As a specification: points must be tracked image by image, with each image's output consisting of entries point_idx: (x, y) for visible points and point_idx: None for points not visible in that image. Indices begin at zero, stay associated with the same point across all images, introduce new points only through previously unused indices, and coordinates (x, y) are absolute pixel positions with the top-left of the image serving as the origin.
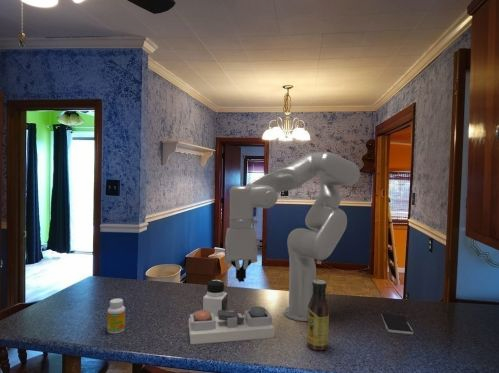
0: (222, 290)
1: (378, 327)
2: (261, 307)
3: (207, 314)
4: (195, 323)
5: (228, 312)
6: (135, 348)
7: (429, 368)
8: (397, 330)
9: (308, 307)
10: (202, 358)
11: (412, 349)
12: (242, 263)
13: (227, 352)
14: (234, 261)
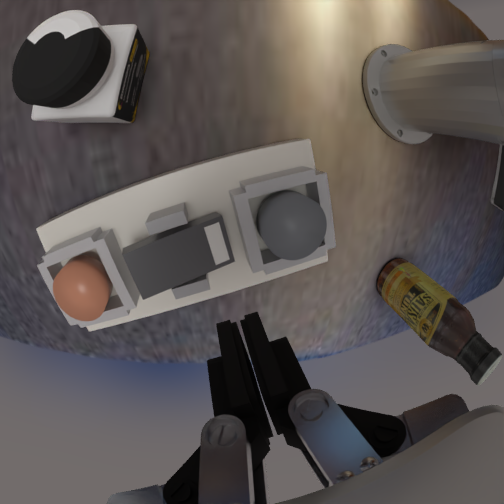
0: (101, 72)
1: (488, 184)
2: (313, 207)
3: (100, 308)
4: (83, 325)
5: (167, 249)
6: (15, 333)
7: (467, 302)
8: (497, 206)
9: (431, 339)
10: (147, 361)
11: (482, 258)
12: (303, 441)
13: (194, 337)
14: (211, 498)
